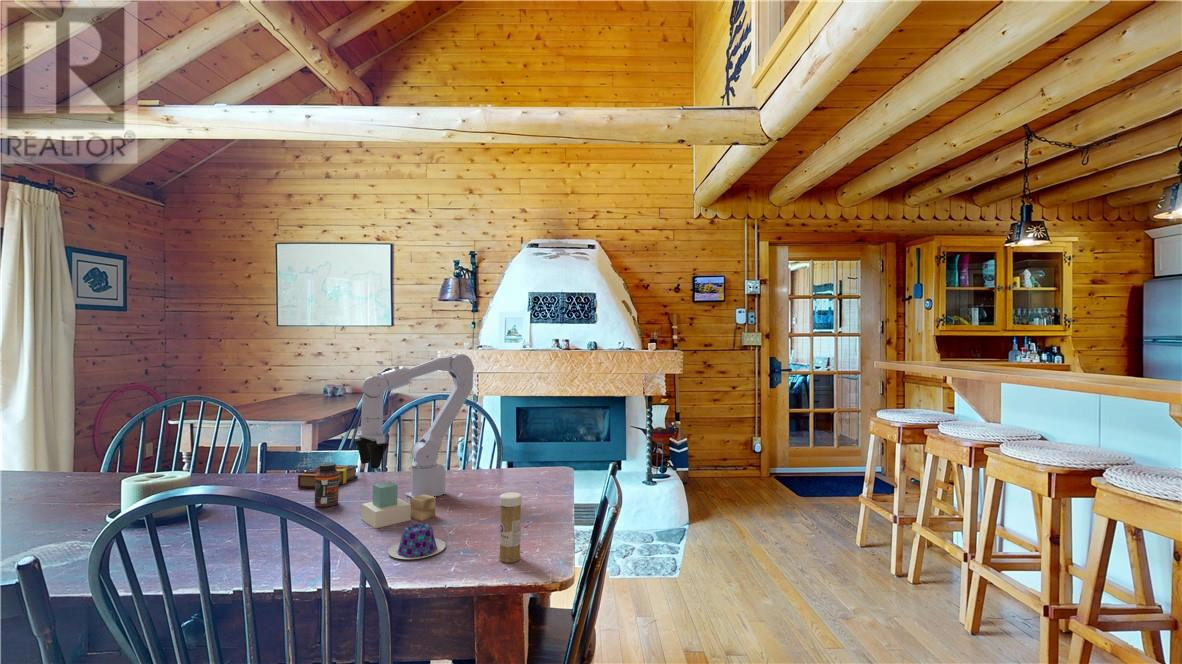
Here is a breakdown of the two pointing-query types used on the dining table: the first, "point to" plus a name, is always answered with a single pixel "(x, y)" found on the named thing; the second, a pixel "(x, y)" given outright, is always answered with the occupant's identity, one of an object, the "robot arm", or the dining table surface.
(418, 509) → the oak block
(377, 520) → the base slab
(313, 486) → the decorative book
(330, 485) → the supplement bottle
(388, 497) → the teal block
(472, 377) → the robot arm
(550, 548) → the dining table surface
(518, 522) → the sprinkles bottle
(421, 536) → the purple patterned hat
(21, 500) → the dining table surface
